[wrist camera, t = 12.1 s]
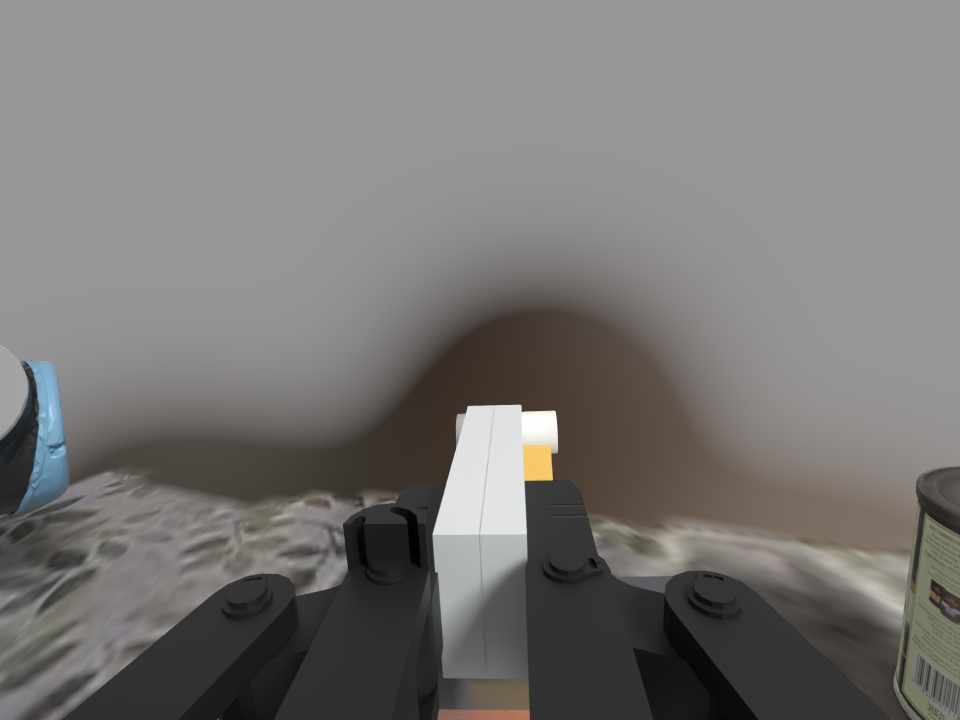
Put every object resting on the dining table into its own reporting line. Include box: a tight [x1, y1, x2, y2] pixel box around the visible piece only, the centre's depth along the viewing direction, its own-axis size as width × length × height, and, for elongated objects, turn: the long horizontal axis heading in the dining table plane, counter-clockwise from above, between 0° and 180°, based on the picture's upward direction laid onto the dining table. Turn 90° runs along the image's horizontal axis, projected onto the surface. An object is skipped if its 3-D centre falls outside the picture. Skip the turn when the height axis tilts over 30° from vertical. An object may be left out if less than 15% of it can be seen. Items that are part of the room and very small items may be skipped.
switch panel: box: [437, 576, 673, 720], centre depth 32 cm, size 16×24×7 cm, turn 86°
